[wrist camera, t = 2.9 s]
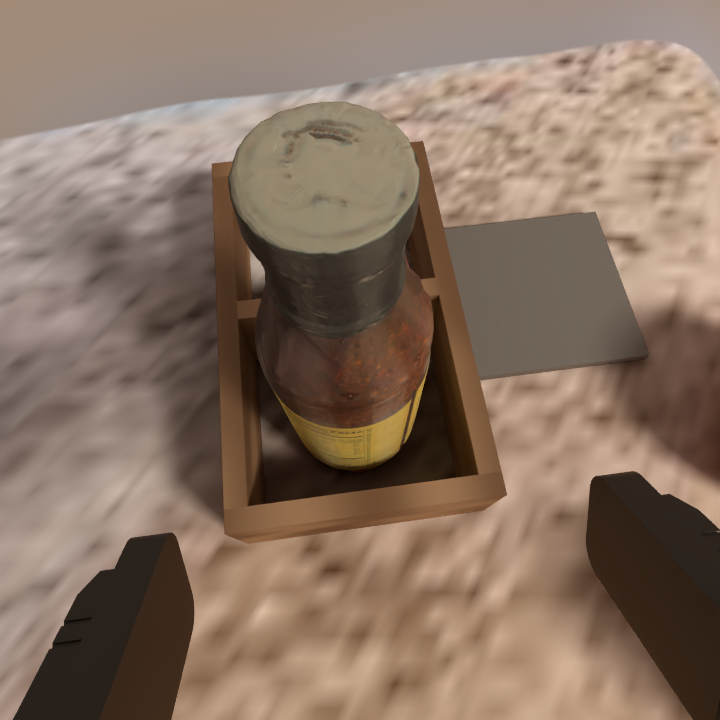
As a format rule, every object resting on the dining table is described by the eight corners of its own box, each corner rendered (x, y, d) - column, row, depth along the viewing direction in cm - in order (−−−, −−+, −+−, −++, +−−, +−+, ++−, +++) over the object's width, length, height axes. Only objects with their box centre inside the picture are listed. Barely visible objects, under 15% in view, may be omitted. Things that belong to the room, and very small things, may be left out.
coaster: (472, 381, 30) (474, 377, 30) (438, 235, 34) (440, 229, 34) (644, 359, 31) (649, 355, 30) (591, 217, 35) (595, 211, 34)
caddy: (248, 543, 27) (224, 534, 22) (231, 220, 35) (211, 163, 30) (482, 510, 28) (506, 494, 23) (415, 199, 35) (423, 141, 31)
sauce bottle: (349, 347, 31) (331, 5, 13) (435, 415, 30) (552, 133, 11) (269, 430, 29) (115, 167, 11) (356, 508, 28) (345, 350, 9)
